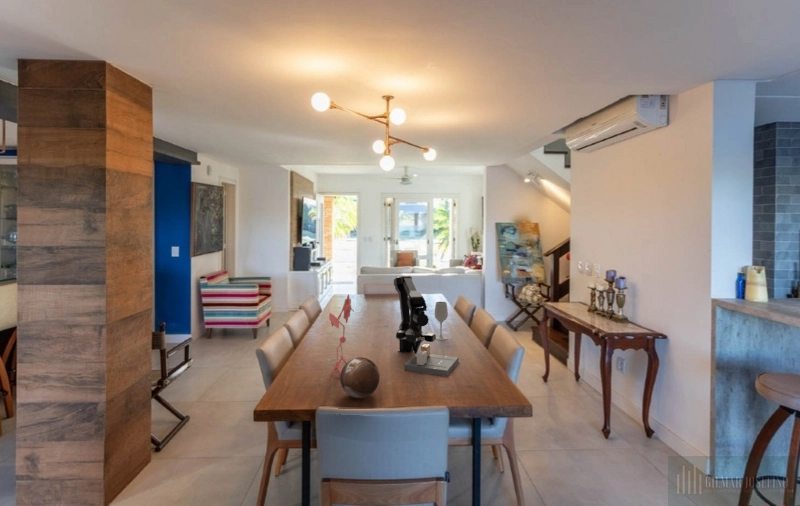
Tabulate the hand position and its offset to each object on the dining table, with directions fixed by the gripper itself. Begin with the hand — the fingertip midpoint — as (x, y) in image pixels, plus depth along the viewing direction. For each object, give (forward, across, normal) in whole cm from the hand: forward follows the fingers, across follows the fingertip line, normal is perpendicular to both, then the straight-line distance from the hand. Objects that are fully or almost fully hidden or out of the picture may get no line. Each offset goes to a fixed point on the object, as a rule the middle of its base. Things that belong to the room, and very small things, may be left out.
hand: (415, 353), depth 210 cm
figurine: (+4, -22, -27) cm, 35 cm away
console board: (+4, +10, -5) cm, 12 cm away
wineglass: (+4, 0, +43) cm, 43 cm away
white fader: (+1, +7, -11) cm, 13 cm away
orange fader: (+1, +5, 0) cm, 5 cm away
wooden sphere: (+4, -5, -49) cm, 49 cm away
